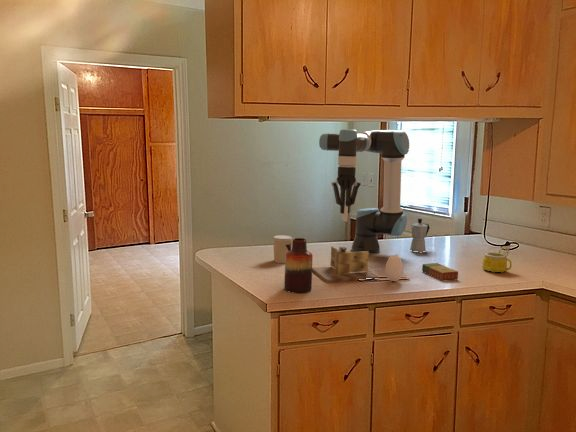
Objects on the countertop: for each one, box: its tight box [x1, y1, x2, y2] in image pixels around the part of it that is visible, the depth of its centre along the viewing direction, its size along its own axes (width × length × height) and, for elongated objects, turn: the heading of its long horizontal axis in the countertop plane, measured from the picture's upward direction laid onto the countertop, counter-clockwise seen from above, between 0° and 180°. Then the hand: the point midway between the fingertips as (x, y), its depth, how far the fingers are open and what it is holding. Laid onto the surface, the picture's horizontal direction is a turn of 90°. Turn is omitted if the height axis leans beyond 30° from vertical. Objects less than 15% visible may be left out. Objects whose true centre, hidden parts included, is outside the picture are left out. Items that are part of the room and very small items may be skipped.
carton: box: [421, 262, 459, 281], centre depth 230 cm, size 8×16×4 cm, turn 18°
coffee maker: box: [409, 218, 430, 252], centre depth 278 cm, size 15×9×18 cm, turn 129°
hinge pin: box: [338, 246, 348, 252], centre depth 223 cm, size 3×3×11 cm
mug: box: [481, 246, 513, 273], centre depth 240 cm, size 13×11×12 cm
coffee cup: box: [272, 234, 293, 264], centre depth 247 cm, size 9×9×12 cm
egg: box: [384, 254, 404, 282], centre depth 217 cm, size 7×7×12 cm
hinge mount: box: [312, 246, 380, 283], centre depth 226 cm, size 24×20×11 cm
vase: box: [284, 237, 314, 294], centre depth 202 cm, size 11×11×20 cm
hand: (344, 220), depth 220 cm, fingers closed
